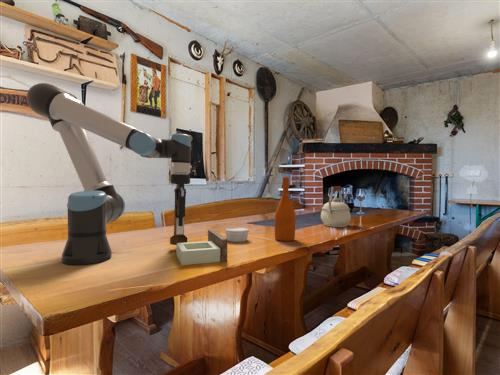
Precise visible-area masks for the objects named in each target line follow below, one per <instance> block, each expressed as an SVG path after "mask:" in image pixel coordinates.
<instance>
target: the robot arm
mask: <svg viewBox="0 0 500 375" xmlns="http://www.w3.org/2000/svg"><path fill="white" fill-rule="evenodd" d="M26 102H27V105H28V106H29V108H30V109H31V110H32V111H33V112H34V113H36V115H37V114H38V115H39V116H41V117H45V118H47V119H48V120H49V123H50V125H51V127H52V129H53V130H54V131H55V132H57V133H59V135H60V137H61V139H62V142H63V144H64V146H65V148H66V151H67V153H68V156H69V158H70V160H71V163H72V164H73V167H74V170H75V172H76V174H77V175H78V179H79V181H80V183H81V185H82V189H83V191H76V192H72V193H70V195H68V197H67V203H66V207H67V240H66V242H65V246H64V248H63V251H62V254H61V263H62V264H65V265H71V266H72V265H73V266H74V265H75V266H78V265H79V266H81V265H83V266H84V265H91V264H97V263H101V262H102V263H103V262H105V261H108V260H110V259H111V258H112V248H111V245H110V243H109V240H108V237H107V224H109V223H113V222H114V221H115V222H116V221H117V220H118V219H120V218H121V217H122V216H123V214H124V212H125V209H126V202H125V199H124V198H123V196H121V194H119V193H117V191H116V188H115V186H114V184H112V183H109V182H108V180H107V178H106V176H105V174H104V171H103V168H102V167H101V164H100V162H99V159H98V157H97V154H96V153H95V150H94V148H93V145H92V143H91V140H90V138H89V136H88V134H87V132H90V133H92V134H94V135H97V136H99V137H101V138H103V139H105V140H107V141H110V142H112V143H115V144H116V145H119V146H122V147H124V148H126V149H128V150H130V151H132V152H134V153H135V154H137V155H139V156H140V157H142V158H146V159H170V173H171V174H170V184H173V185H174V184H175V185H176V186H175V188H174V190H173V191H174V211H173V213H174V216H175V215H177V216H175V218H177V224H176V234H184V235H185V217H186V195H187V189H186V188H185V185H190V184H191V175H190V174H191V169H192V168H193V166H192V165H191V160H192V159H191V156H192V155H191V154H192V137H191V136H190V135H189V134H186V133H172V135H171V138H168V139H167V138H157V137H155V136H153V135H151V134H150V133H148V132H144V131H142V130H140V129H137V128H135V127H134V126H131V125H129V124H127V123H124V122H122V121H119V120H117V118H116V119H115V118H113V117H111V116H109V115H106V114H105V113H102V112H100V111H98V110H96V109H93V108H91V107H89V106H86V105H85V104H84V103H83V102H82V101H81V99H79V98H78V97H77V96H76V95H74V94H72V93H71V92H67V91H65V90H63V89H61V88H59V87H57V86H56V85H53V84H51V83H45V82H42V83H41V82H40V83H36V84H34V85H32V86H31V87H30V88H29V89H28V90H27V93H26ZM176 200H177V204H176Z"/></svg>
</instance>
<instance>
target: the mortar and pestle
mask: <svg viewBox="0 0 500 375" xmlns="http://www.w3.org/2000/svg"><path fill="white" fill-rule="evenodd" d="M176 204H177V200H176ZM175 216H177V215H175V214H174V217H173V221H174V222H173V235H171V236H170V238H169V244H170V245H172V246H176V243H186V242H188V237H187V236H186V234H185V233H184V234H176V224H177V218H175Z"/></svg>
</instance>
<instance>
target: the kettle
mask: <svg viewBox="0 0 500 375" xmlns="http://www.w3.org/2000/svg"><path fill="white" fill-rule="evenodd" d="M334 191H336V192H337V191H338V195H339V198H338V197H334ZM333 197H334V198H333ZM350 211H351V208H350V207H349V205H348V204H347V203H345V202H343V195H342V186H340V185H339V186H336V185H335V186H330V195H329V199H328V202H326V203H324V204H323V205H322V207H321V212H320V220H321V221H322V222H323V225H324V226H325V225H326V226H325V227H330V226H331V227H330V228H345V226H346V227H348V223H350V221H351V219H352V216H351V212H350Z"/></svg>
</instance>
